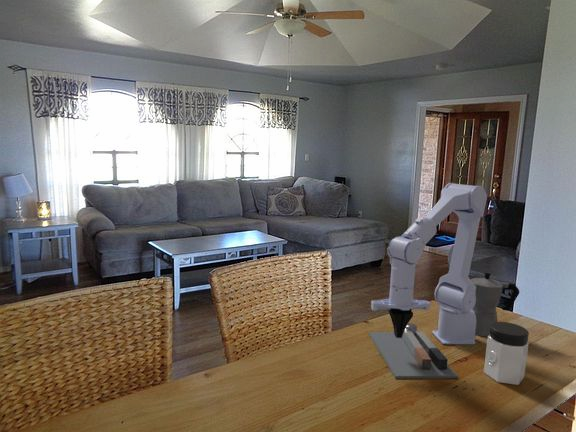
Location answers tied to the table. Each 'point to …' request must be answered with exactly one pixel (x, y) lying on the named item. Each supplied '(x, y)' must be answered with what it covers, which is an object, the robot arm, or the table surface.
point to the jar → (506, 352)
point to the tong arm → (416, 346)
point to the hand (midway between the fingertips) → (398, 336)
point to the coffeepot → (490, 302)
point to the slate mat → (405, 358)
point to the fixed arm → (432, 350)
